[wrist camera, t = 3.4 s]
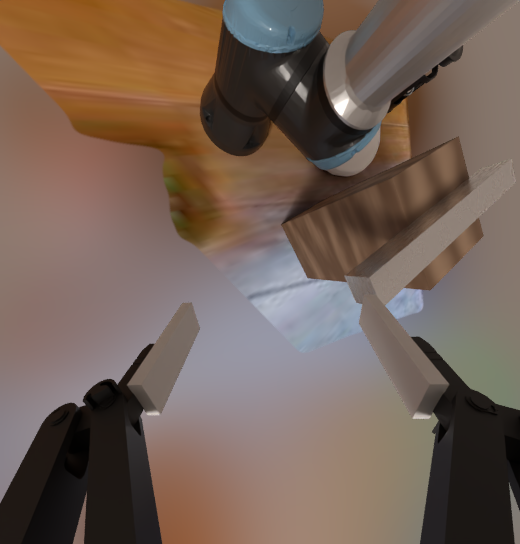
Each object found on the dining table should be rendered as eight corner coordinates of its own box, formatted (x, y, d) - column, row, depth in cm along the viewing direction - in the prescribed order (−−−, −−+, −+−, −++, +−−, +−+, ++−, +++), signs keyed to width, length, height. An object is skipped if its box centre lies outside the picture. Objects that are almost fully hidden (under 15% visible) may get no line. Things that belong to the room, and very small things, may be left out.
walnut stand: (307, 278, 52) (430, 290, 26) (281, 224, 49) (391, 177, 23) (346, 249, 57) (483, 236, 31) (325, 199, 54) (458, 136, 28)
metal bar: (356, 302, 21) (382, 308, 19) (344, 275, 21) (369, 277, 18) (486, 189, 31) (516, 182, 28) (481, 168, 30) (511, 158, 27)
